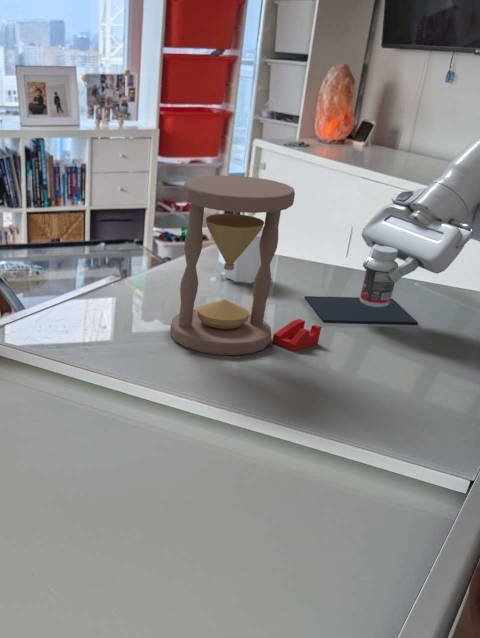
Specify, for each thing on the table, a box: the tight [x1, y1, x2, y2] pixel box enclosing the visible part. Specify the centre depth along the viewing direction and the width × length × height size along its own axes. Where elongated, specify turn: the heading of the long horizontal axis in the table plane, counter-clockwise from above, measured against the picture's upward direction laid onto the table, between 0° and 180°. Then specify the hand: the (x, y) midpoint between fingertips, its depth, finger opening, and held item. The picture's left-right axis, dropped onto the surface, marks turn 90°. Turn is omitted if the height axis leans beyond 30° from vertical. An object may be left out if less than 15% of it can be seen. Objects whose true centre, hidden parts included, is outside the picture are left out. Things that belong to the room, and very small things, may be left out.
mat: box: [304, 295, 419, 325], centre depth 148 cm, size 18×14×1 cm
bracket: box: [272, 318, 322, 352], centre depth 132 cm, size 6×5×3 cm
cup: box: [224, 225, 264, 284], centre depth 161 cm, size 10×10×10 cm
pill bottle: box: [359, 246, 399, 307], centre depth 138 cm, size 5×5×10 cm
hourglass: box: [169, 175, 296, 356], centre depth 127 cm, size 18×18×25 cm
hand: (377, 273), depth 137 cm, fingers closed on pill bottle, 5 cm apart
